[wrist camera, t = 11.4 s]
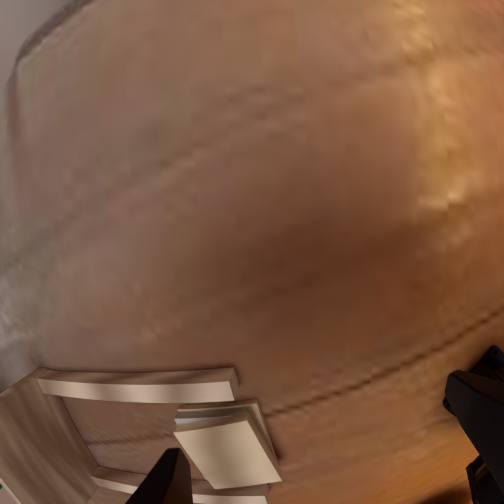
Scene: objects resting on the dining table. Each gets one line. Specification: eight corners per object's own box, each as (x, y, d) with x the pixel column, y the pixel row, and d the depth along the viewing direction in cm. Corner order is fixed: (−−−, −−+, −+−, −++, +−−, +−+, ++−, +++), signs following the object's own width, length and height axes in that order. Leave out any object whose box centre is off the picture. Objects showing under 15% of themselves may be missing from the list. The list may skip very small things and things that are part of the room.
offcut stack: (265, 394, 21) (261, 418, 18) (285, 462, 22) (284, 486, 19) (181, 402, 22) (168, 424, 20) (211, 466, 23) (203, 488, 20)
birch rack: (233, 364, 21) (181, 495, 9) (270, 490, 23) (254, 592, 11) (39, 367, 24) (-41, 421, 12) (95, 473, 26) (48, 536, 14)
